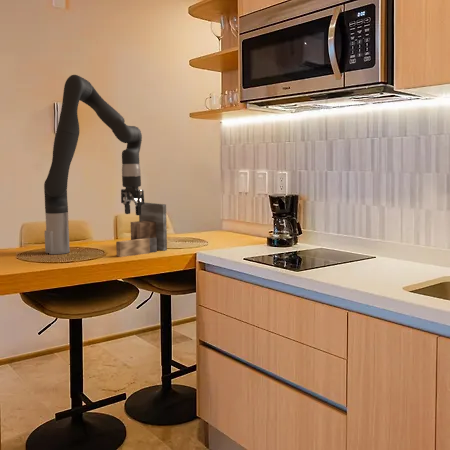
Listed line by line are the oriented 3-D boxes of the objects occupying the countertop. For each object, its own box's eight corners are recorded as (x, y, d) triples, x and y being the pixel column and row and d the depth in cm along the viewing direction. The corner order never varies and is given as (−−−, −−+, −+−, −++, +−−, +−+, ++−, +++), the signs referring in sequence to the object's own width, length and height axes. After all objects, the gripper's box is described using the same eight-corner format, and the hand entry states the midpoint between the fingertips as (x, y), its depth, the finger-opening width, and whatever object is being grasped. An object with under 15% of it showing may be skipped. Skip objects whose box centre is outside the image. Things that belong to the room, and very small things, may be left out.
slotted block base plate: (148, 252, 229) (146, 205, 226) (124, 247, 244) (123, 203, 242) (166, 250, 235) (166, 204, 232) (142, 245, 250) (141, 202, 248)
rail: (120, 256, 219) (119, 242, 218) (116, 256, 221) (116, 241, 220) (157, 252, 230) (157, 238, 229) (154, 251, 232) (153, 237, 232)
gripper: (114, 175, 224) (116, 214, 226) (132, 175, 213) (134, 216, 215) (130, 174, 229) (131, 212, 231) (148, 174, 218) (150, 214, 220)
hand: (133, 214), depth 223 cm, fingers open, 8 cm apart
